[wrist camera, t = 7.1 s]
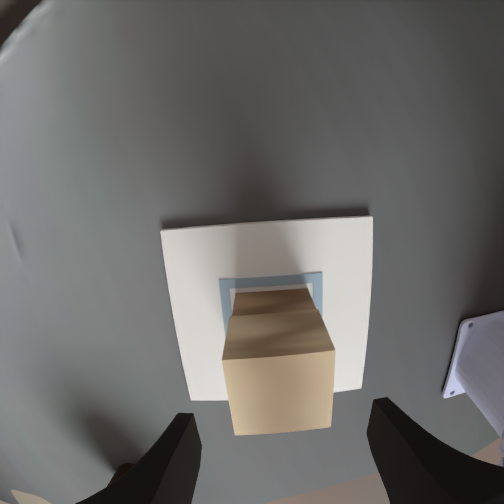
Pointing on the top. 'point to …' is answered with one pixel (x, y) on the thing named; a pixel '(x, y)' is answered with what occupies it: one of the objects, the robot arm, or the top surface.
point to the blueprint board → (268, 287)
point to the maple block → (279, 372)
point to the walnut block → (272, 302)
